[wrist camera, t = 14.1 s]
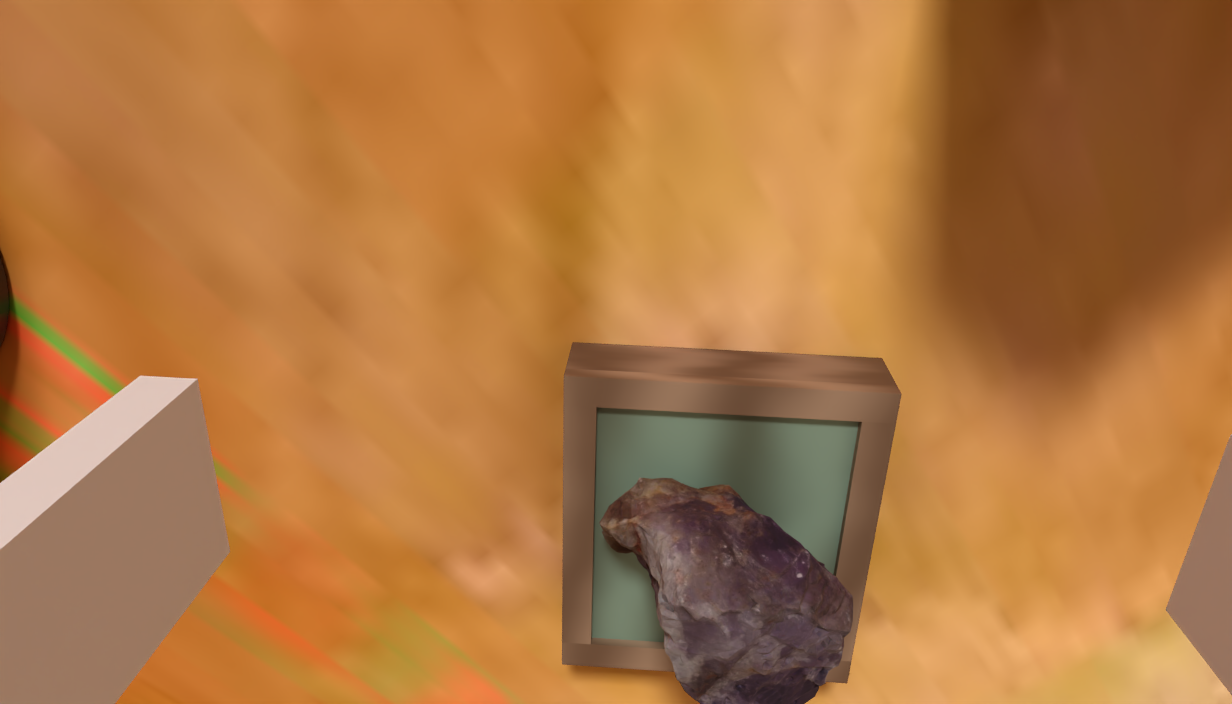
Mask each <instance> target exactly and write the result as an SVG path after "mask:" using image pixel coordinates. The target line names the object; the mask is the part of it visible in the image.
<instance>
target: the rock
mask: <svg viewBox="0 0 1232 704" xmlns="http://www.w3.org/2000/svg"><path fill="white" fill-rule="evenodd" d="M599 523H600V526H601V528H602V530H603V531H602V534H603V536H604V538H605V540H606V541H607V543H608V544H609V546H610V547H611V548H612V549H613V550H615V551H616V552H618V553H625V554H627V553H631V552H633V553H634V554H635V555H636V556H637V559H638V561H639V563H640V564H641V565H642V566H643V567H644V568H645V569H646V570H647V571H648V573H649V577H650V580H651V585H652V587H653V589H654V591H655V601H656V608H657V610H656V612H657V617H658V620H659V622H660V627H661V628H662V629H663V630H664V647H665V652H666V654H667V655H668V656H669V657H670V659H671V661H672V664H673V668H674V671H675V674H676V678H677V680H678V681H679V682H680V684H681V685H682V687H683V689H684V691H685V692H686V693H688V694H689V695H690V696H691V697H692V698H694V699H695V700H696V701H698V702H699V703H700V704H805V703H806V702H808V701H809V700H810V699H812V698H813V697H815V695H816V693H817V691H818V689H819V686H821V685H823V684H825V682H826V677H827V674H828V672H829V671H830V670H831V669H833V668H835V667H837V666H839V663H840V661H841V659H842V653H843V648H844V637H845V636H846V635H848V634H849V633H850V631H851V627H852V622H853V595H852V594H850V593H849V592H848V591H847V590H846V588H845V587H844V586H843V585H842V584H841V583H840V581H839V580H838V578H837V577H836V576H834V575H833V574H832V573H830V572H829V571H828V570H827V569H826V568H825V564H824V563H821V562H819V561H818V560H817V559H816V558H815V557H814V556H813V555H812V554H811V553H810V552H809V551H808V550H807V549H805V548H804V547H803V545H802V544H801V543H800V542H799V541H797V540H796V539H794V538H793V537H792V536H790V535H789V534H787V533H786V532H785V531H784V530H783V529H782V528H781V527H780V526H779V525H778V524H777V523H776V522H775V521H774V520H773V519H772V518H771V517H768V516H765V515H762V514H759V513H757V512H755V511H754V510H753V509H752V508H750V507H749V506H748V505H747V504H746V503H745V501H744V500H743V499H742V498H741V497H740V495H739V494H738V493H737V492H736V491H735V490H734V489H733V488H732V487H731V486H730V485H722V484H720V485H715V486H709V487H703V488H699V489H697V488H694V487H690V486H688V485H685V484H683V483H680V482H678V481H677V480H675V479H673V478H655V479H649V478H639V479H638V481H637V483H636V484H635V485H634V486H633V487H632V488H631V489H629V490H628V491H627V492H625V493H624V494H623V495H622V496H621V497H619V498H618V499H617V500H615V501H614V502H613V503H612V504H611V505H609V507H608V509H607V511H606V512H605V514H604V516H603V517H602V519H601V521H600V522H599Z"/></svg>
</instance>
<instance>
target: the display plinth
mask: <svg viewBox="0 0 1232 704" xmlns="http://www.w3.org/2000/svg"><path fill="white" fill-rule="evenodd" d="M900 399H901V392H900V390H899V389H898V387H897V385H896V383H895V381H894V379H893V378H892V376H891V374H890V372H889V370H888V368H887V367H886V365H885V363H884V361H883V359H882V358H866V357H847V356H827V355H808V354H788V353H769V352H749V351H730V350H710V349H691V348H671V347H652V346H632V345H613V344H593V343H574V342H573V343H572V347H571V351H570V355H569V358H568V362H567V366H566V370H565V374H564V442H563V602H562V664H565V665H580V666H595V667H610V668H625V669H640V670H655V671H670V672H675V671H674V668H673V664H672V661H671V659H670V657H669V656H668V655H667V654H666V652H665V647H664V630H663V629H662V628H661V627H660V622H659V620H658V617H657V612H656V610H657V608H656V601H655V591H654V589H653V587H652V585H651V580H650V577H649V573H648V571H647V570H646V569H645V568H644V567H643V566H642V565H641V564H640V563H639V561H638V559H637V556H636V555H635V554H634V553H633V552H631V553H627V554H625V553H618V552H616V551H615V550H613V549H612V548H611V547H610V546H609V544H608V543H607V541H606V540H605V538H604V536H603V534H602V531H603V530H602V528H601V526H600V523H599V522H600V521H601V519H602V517H603V516H604V514H605V512H606V511H607V509H608V507H609V505H611V504H612V503H613V502H614V501H615V500H617V499H618V498H619V497H621V496H622V495H623V494H624V493H625V492H627V491H628V490H629V489H631V488H632V487H633V486H634V485H635V484H636V483H637V481H638V479H639V478H649V479H655V478H673V479H675V480H677V481H678V482H680V483H683V484H685V485H688V486H690V487H694V488H697V489H699V488H703V487H709V486H715V485H720V484H722V485H730V486H731V487H732V488H733V489H734V490H735V491H736V492H737V493H738V494H739V495H740V497H741V498H742V499H743V500H744V501H745V503H746V504H747V505H748V506H749V507H750V508H752V509H753V510H754V511H755V512H757V513H759V514H762V515H765V516H768V517H771V518H772V519H773V520H774V521H775V522H776V523H777V524H778V525H779V526H780V527H781V528H782V529H783V530H784V531H785V532H786V533H787V534H789V535H790V536H792V537H793V538H794V539H796V540H797V541H799V542H800V543H801V544H802V545H803V547H804V548H805V549H807V550H808V551H809V552H810V553H811V554H812V555H813V556H814V557H815V558H816V559H817V560H818V561H819V562H821V563H824V564H825V568H826V569H827V570H828V571H829V572H830V573H832V574H833V575H834V576H836V577H837V578H838V580H839V581H840V583H841V584H842V585H843V586H844V587H845V588H846V590H847V591H848V592H849V593H850V594H852V595H853V622H852V627H851V631H850V633H849V634H848V635H846V636H845V637H844V648H843V653H842V659H841V661H840V663H839V666H837V667H835V668H833V669H831V670H830V671H829V672H828V674H827V677H826V682H836V683H847V681H848V676H849V671H850V665H851V660H852V655H853V649H854V644H855V639H856V633H857V628H858V623H859V617H860V612H861V607H862V601H863V596H864V591H865V585H866V580H867V575H868V569H869V564H870V559H871V553H872V548H873V543H874V537H875V532H876V527H877V521H878V516H879V511H880V505H881V500H882V495H883V489H884V484H885V479H886V473H887V468H888V463H889V457H890V452H891V447H892V441H893V436H894V431H895V425H896V420H897V415H898V409H899V404H900Z"/></svg>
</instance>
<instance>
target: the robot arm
mask: <svg viewBox="0 0 1232 704" xmlns="http://www.w3.org/2000/svg"><path fill="white" fill-rule="evenodd" d="M8 314H9V296H8V287H7V280H6V276H5V272H4V267H3V264H2V261H1V258H0V346H1V344H2V341H3V339H4V336H5V332H6V328H7V323H8ZM229 552H230V548H229V543H228V538H227V532H226V527H225V522H224V517H223V511H222V506H221V501H220V495H219V490H218V485H217V480H216V474H215V469H214V464H213V458H212V453H211V448H210V442H209V437H208V432H207V427H206V421H205V416H204V411H203V405H202V400H201V395H200V390H199V384H198V379H190V378H172V377H153V376H139V377H138V378H137V379H135V380H134V381H133V382H131V383H130V384H129V385H128V386H126V387H125V388H124V389H122V390H121V391H120V392H118V393H117V394H116V395H114V396H113V397H112V398H111V399H109V400H108V401H107V402H105V403H104V404H103V405H101V406H100V407H99V408H98V409H96V410H95V411H94V412H92V413H91V414H90V415H88V416H87V417H86V418H84V419H83V420H82V421H81V422H79V423H78V424H77V425H75V426H74V427H73V428H71V429H70V430H69V431H67V432H66V433H65V434H64V435H62V436H61V437H60V438H58V439H57V440H56V441H54V442H53V443H52V444H51V445H49V446H48V447H47V448H45V449H44V450H43V451H41V452H40V453H39V454H37V455H36V456H35V457H34V458H32V459H31V460H30V461H28V462H27V463H26V464H24V465H23V466H22V467H20V468H19V469H18V470H17V471H15V472H14V473H13V474H11V475H10V476H9V477H7V478H6V479H5V480H4V481H2V482H1V483H0V704H115V703H116V702H117V700H118V699H119V698H120V696H121V695H122V694H123V692H124V691H125V690H126V688H127V687H128V686H129V684H130V683H131V682H132V680H133V679H134V678H135V676H136V675H137V674H138V672H139V671H140V670H141V668H142V667H143V666H144V665H145V663H146V662H147V661H148V659H149V658H150V657H151V655H152V654H153V653H154V651H155V650H156V649H157V647H158V646H159V645H160V643H161V642H162V641H163V639H164V638H165V637H166V635H167V634H168V633H169V631H170V630H171V629H172V628H173V626H174V625H175V624H176V622H177V621H178V620H179V618H180V617H181V616H182V614H183V613H184V612H185V610H186V609H187V608H188V606H189V605H190V604H191V602H192V601H193V600H194V598H195V597H196V596H197V594H198V593H199V592H200V591H201V589H202V588H203V587H204V585H205V584H206V583H207V581H208V580H209V579H210V577H211V576H212V575H213V573H214V572H215V571H216V569H217V568H218V567H219V565H220V564H221V563H222V561H223V560H224V559H225V557H226V556H227V555H228V554H229ZM1166 611H1167V612H1168V613H1169V615H1170V616H1171V617H1172V619H1173V620H1174V621H1175V622H1176V624H1177V625H1178V626H1179V628H1180V629H1181V630H1182V631H1183V633H1184V634H1185V635H1186V637H1187V638H1188V639H1189V641H1190V642H1191V643H1192V644H1193V646H1194V647H1195V648H1196V650H1197V651H1198V652H1199V653H1200V655H1201V656H1202V657H1203V659H1204V660H1205V661H1206V662H1207V664H1208V665H1209V666H1210V668H1211V669H1212V670H1213V672H1214V673H1215V674H1216V675H1217V677H1218V678H1219V679H1220V681H1221V682H1222V683H1223V684H1224V686H1225V687H1226V688H1227V690H1228V691H1229V692H1230V693H1231V695H1232V435H1230V438H1229V441H1228V444H1227V446H1226V449H1225V452H1224V454H1223V457H1222V460H1221V462H1220V465H1219V468H1218V470H1217V473H1216V476H1215V478H1214V481H1213V484H1212V486H1211V489H1210V492H1209V495H1208V497H1207V500H1206V503H1205V505H1204V508H1203V511H1202V513H1201V516H1200V519H1199V521H1198V524H1197V527H1196V529H1195V532H1194V535H1193V537H1192V540H1191V543H1190V546H1189V548H1188V551H1187V554H1186V556H1185V559H1184V562H1183V564H1182V567H1181V570H1180V572H1179V575H1178V578H1177V580H1176V583H1175V586H1174V588H1173V591H1172V594H1171V597H1170V599H1169V602H1168V605H1167V607H1166Z"/></svg>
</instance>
